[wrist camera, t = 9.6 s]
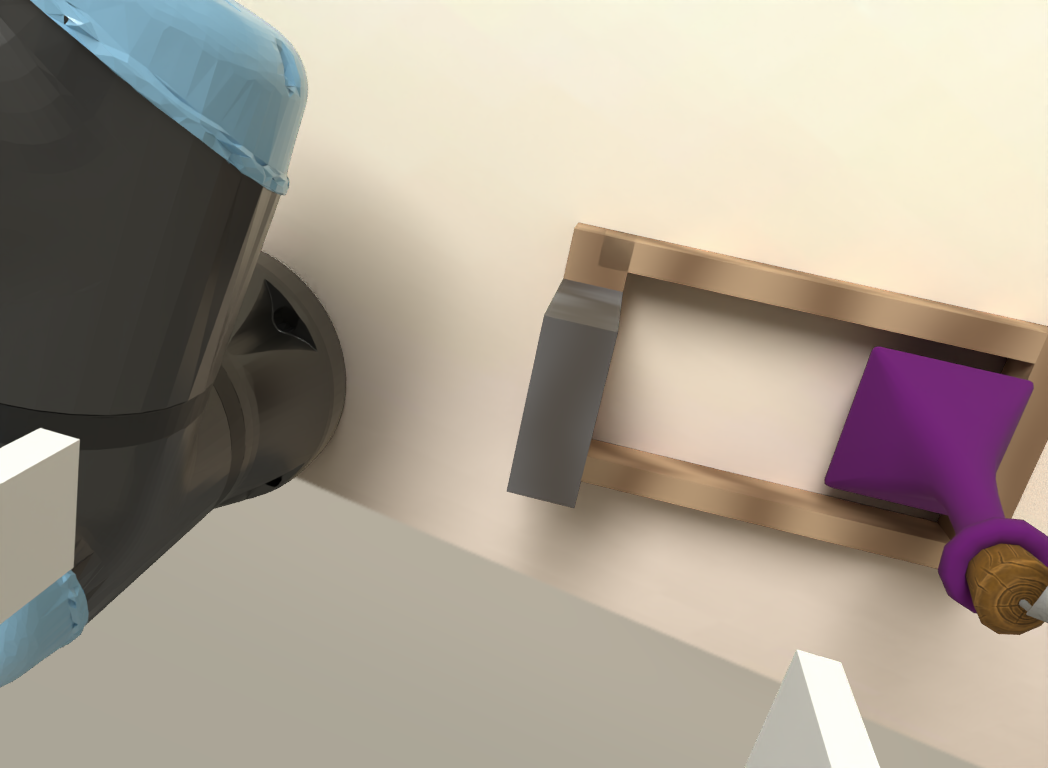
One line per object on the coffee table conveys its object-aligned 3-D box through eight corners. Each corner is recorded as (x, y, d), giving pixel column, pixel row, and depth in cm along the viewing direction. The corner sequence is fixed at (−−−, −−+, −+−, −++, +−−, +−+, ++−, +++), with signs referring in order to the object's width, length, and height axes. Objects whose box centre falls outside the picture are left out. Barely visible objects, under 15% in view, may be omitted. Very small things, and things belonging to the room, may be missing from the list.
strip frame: (528, 448, 45) (496, 540, 35) (578, 222, 40) (557, 254, 30) (964, 555, 43) (1059, 683, 33) (1065, 330, 38) (1210, 400, 29)
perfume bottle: (949, 492, 42) (1156, 741, 25) (809, 459, 42) (920, 680, 25) (1005, 362, 39) (1278, 540, 22) (856, 328, 40) (1013, 477, 23)
